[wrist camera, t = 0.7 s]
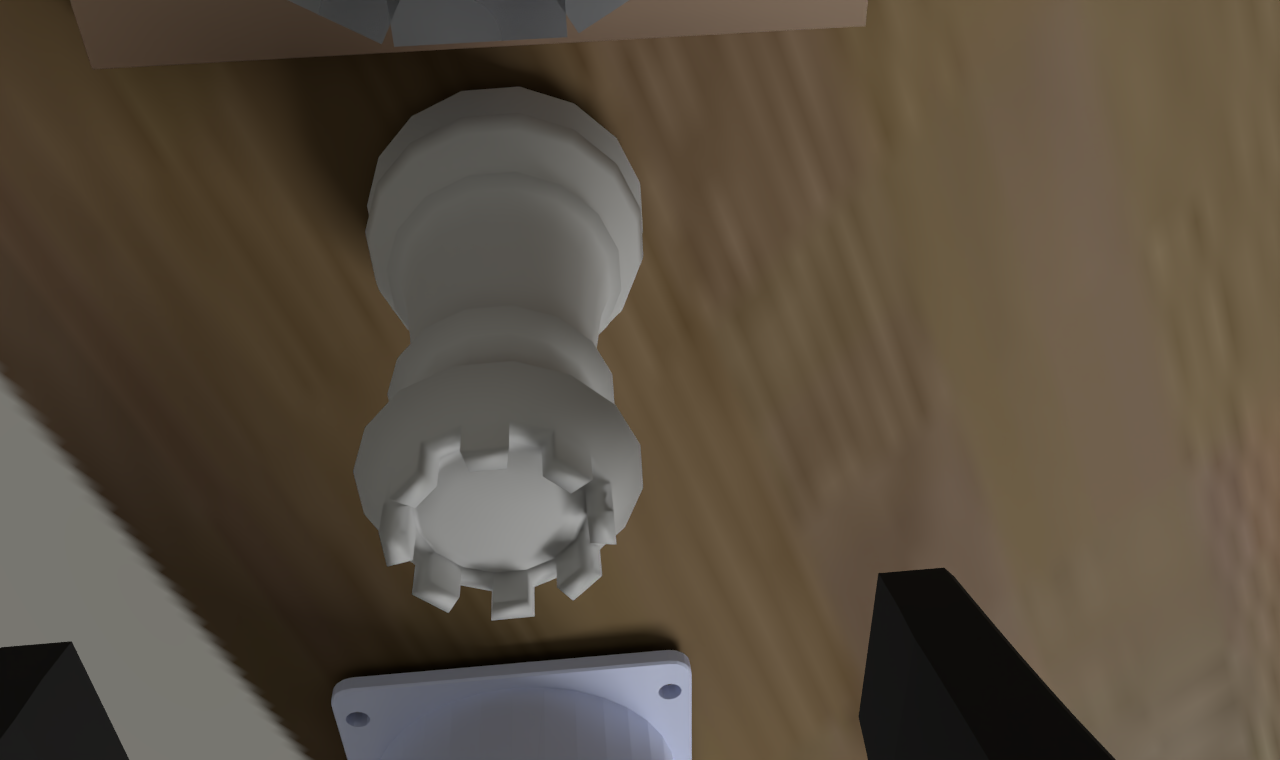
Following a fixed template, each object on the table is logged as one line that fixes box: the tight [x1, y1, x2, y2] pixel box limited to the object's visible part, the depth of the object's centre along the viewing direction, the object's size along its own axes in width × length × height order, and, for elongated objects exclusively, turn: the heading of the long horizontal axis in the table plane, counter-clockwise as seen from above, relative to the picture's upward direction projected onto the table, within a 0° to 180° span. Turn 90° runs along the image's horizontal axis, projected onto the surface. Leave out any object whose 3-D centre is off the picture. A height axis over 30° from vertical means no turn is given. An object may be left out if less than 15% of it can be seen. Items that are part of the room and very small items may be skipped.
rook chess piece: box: [353, 87, 643, 621], centre depth 15 cm, size 4×4×8 cm
